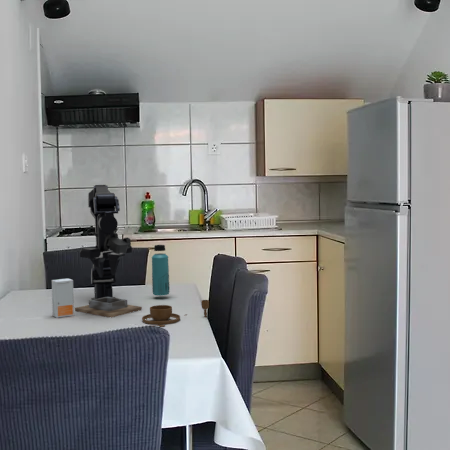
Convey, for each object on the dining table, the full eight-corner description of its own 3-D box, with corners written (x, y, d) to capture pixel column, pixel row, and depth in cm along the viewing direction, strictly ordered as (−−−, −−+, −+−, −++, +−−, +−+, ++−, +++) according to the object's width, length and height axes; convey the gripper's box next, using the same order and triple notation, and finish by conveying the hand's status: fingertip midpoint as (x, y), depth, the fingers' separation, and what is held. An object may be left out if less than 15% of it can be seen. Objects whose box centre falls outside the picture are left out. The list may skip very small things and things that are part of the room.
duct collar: (74, 310, 208) (74, 300, 208) (106, 303, 219) (105, 294, 219) (111, 317, 197) (110, 306, 197) (141, 309, 209) (141, 299, 208)
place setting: (152, 315, 203) (152, 297, 202) (211, 317, 198) (210, 299, 198) (133, 328, 185) (133, 309, 185) (197, 330, 181) (197, 311, 181)
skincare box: (56, 318, 197) (55, 281, 197) (52, 315, 201) (51, 279, 200) (74, 315, 201) (73, 279, 200) (70, 313, 204) (69, 278, 203)
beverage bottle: (166, 299, 225) (165, 245, 224) (149, 299, 226) (148, 245, 225) (172, 296, 232) (170, 243, 230) (155, 295, 233) (154, 243, 231)
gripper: (101, 233, 194) (102, 282, 195) (142, 229, 209) (143, 274, 210) (78, 232, 201) (79, 279, 202) (120, 227, 216) (121, 271, 217)
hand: (107, 276), depth 208 cm, fingers open, 5 cm apart
